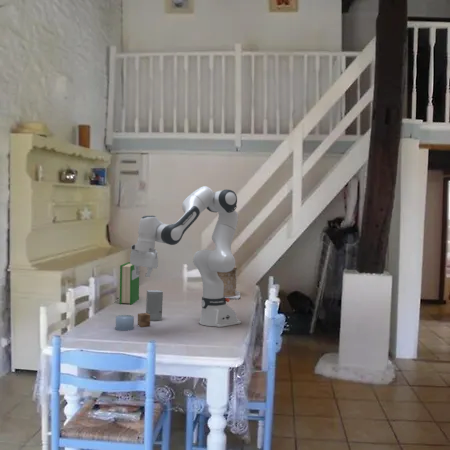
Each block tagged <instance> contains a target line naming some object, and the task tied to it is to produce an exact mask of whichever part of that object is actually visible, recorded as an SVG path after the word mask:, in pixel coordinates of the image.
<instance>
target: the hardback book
mask: <svg viewBox="0 0 450 450" xmlns="http://www.w3.org/2000/svg"><path fill="white" fill-rule="evenodd" d="M119 266H120V267H119V305H123V304H129V305H133V304H134V303H136V302H138V301H139V299H140V274H139V275H136V274H135V268H134V265H132V264H131V263H130V261H129V262H128V261H127V262H125V263H124V264H123V263H122V264H121V265H119Z"/></svg>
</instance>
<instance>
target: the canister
mask: <svg viewBox="0 0 450 450" xmlns="http://www.w3.org/2000/svg"><path fill="white" fill-rule="evenodd" d="M134 321H135V316H134V315H130V314H121V315H116V316H115V327H114V330H116V331H122V332H124V331H125V332H126V331H127V332H128V330H129V331H133V330H135V322H134Z"/></svg>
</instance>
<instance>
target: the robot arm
mask: <svg viewBox="0 0 450 450" xmlns="http://www.w3.org/2000/svg"><path fill="white" fill-rule="evenodd" d="M237 203H238V196H237V194H236V192H235V191H234V190H231V189H222V190H221V189H220V190H218V191H215V192H214V190H212V188H210V187H209V186H206V185H203V186H201V187H198V188H197V189H196V190H194V191H192V192H191V193H190V194H189V195H188V196H187V197H186V198H185V199H184V200H183V201H182V203H181V207H182V211H183V212H184V214H183V215H182V216H181V217H180V218H179V219H178V220H177V221H176V222H174V223H170V224H168V223H164V222H163V221H161V220H160V219H158V217H157V215H144V216H142V217H141V218H140V219H139V224H138V230H137V233H138V237H137V242H136V243H134V244H132V245H131V247H130V250H131V252H130V255H129V256H130V257H129V262H130V263H131V264H132V265H134V268H135V274H136V275H139V276H140V274H141V273H140V272H141V271H140V267H144V268H146V269H147V271H146V272H145V277H146V278H150V277H151V274H152V272H153V269H158V267H159V254H158V250H156V249H155V245H156V243H162V244H167V245H169V246H175V245H178V244H179V242H180V241H181V240H182V238H183V236H184V234H185V232H187V230H189V228H190V227H191V226H192V225H193V224H194V222H196V220H197V219H198V218H199V216H200V215H201V213H203V212H204V211H205V210H207V211H209V212H211V213H218V217H217V221H216V223H215V227H214V229H213V231H212V232H213V233H212V235H211V240H212V242H213V243H214V249H213V250H212V249H200V250H197V251H196V252H195V253H194V254H193V258H192V260H193V261H192V263H193V265H194V266H195V268H196V269H197V270H198V272H199V274H200V277H201V281H202V296H201V315H200V318H199V322H198V323H199V324H200V325H203V326H207V327H218V328H223V327H228V326H234V325H240V324H241V323H242V321H241V320H240V319H238V316H237V313H236V311H235V309H233V308H232V307H231V306H230V305H228V304H227V303H230V301H231V299H229V298H225V297H223V293H224V283H223V281H222V280H221V279H220V278H219V276H218V274H217V272H230V271H232V270H233V268H234V266H236V258H235V256H234V255H233V253H232V243H233V239H234V235H235V233H236V230H237V228H238V222H239V221H238V220H239V214H238V212H237V211H236V209H237V208H238V207H237Z"/></svg>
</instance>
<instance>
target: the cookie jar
mask: <svg viewBox="0 0 450 450" xmlns="http://www.w3.org/2000/svg"><path fill="white" fill-rule="evenodd" d="M237 270H238V267H237V266H236V265H235V266H234V268H233V270H232V271H230V272H217V274H218V276H219V278H220V279H221V280H222V281H223V283H224V293H223V297H225V298H229V299H230V300H231V299H232V300H239V299H240V298H241V291H239V290H237V277H236V276H237V275H236V274H237V272H236V271H237Z"/></svg>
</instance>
